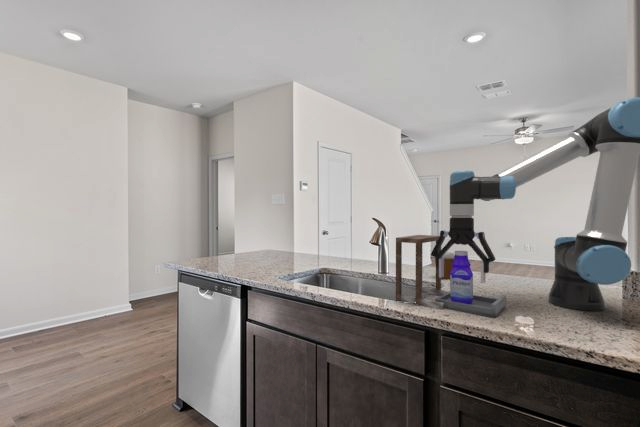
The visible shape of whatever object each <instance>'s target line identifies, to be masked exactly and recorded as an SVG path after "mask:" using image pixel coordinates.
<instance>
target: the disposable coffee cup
mask: <svg viewBox="0 0 640 427" xmlns="http://www.w3.org/2000/svg"><path fill="white" fill-rule="evenodd" d="M454 254H455V252H454V253H453V252H448V251H447V252H446V253H445V254H444V255H443V256H442V257H441V258H444V277H441V280H443V279H449V280H450V272H451V269H452V267H453V265H452V263H453V261H454V256H455V255H454ZM434 262H435V265H436V257H434Z"/></svg>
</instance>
